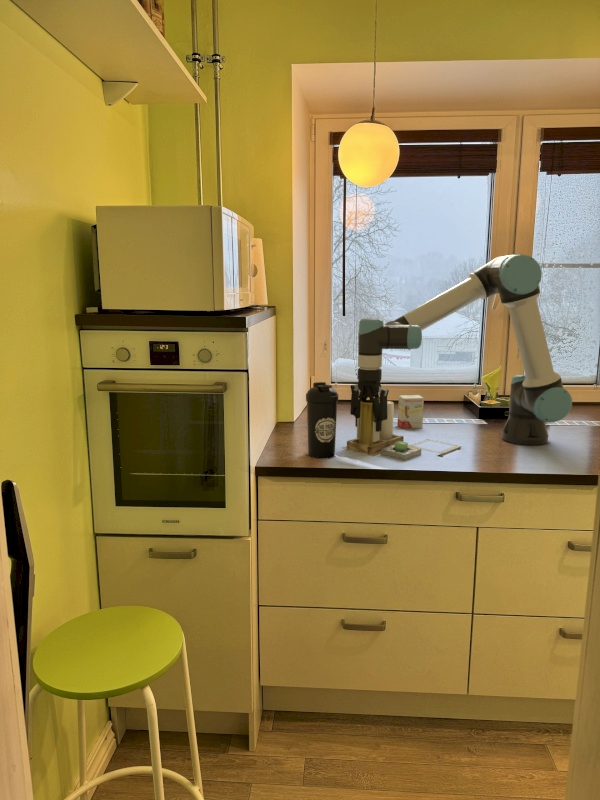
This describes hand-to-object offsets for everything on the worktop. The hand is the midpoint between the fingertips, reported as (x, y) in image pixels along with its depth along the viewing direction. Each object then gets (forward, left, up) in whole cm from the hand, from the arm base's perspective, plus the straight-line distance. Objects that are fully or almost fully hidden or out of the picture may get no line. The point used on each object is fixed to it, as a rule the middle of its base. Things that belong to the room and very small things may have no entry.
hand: (367, 438), depth 190 cm
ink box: (+10, -38, -5) cm, 40 cm away
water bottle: (+9, +13, -5) cm, 16 cm away
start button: (-11, -2, -2) cm, 12 cm away
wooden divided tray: (0, -4, -4) cm, 6 cm away
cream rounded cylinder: (0, -8, -3) cm, 9 cm away
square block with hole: (-11, -2, -4) cm, 12 cm away
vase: (0, 0, -2) cm, 2 cm away
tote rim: (-13, -18, -4) cm, 23 cm away
